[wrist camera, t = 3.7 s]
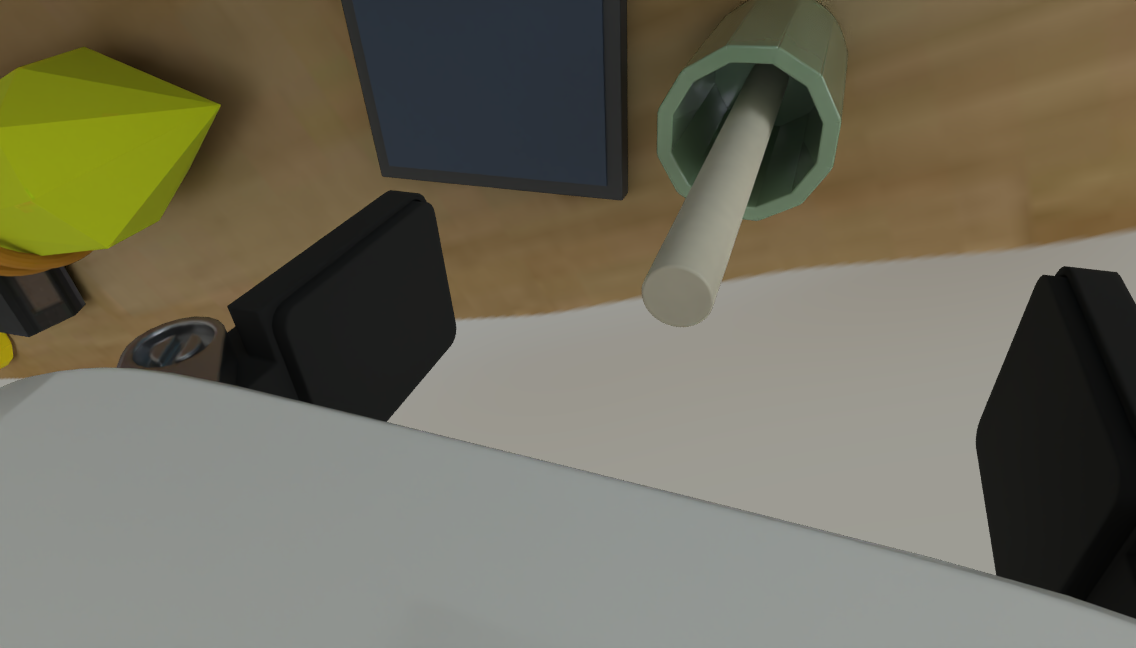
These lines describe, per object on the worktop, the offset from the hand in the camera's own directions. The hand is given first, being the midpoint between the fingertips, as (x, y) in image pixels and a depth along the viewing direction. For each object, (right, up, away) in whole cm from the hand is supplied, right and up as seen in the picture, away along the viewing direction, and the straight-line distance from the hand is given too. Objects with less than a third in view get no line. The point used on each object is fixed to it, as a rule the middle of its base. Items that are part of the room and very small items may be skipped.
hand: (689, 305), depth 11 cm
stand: (+5, +8, +11) cm, 15 cm away
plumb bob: (-26, +9, +24) cm, 37 cm away
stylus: (+5, +8, +11) cm, 14 cm away
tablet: (-5, +9, +15) cm, 18 cm away
